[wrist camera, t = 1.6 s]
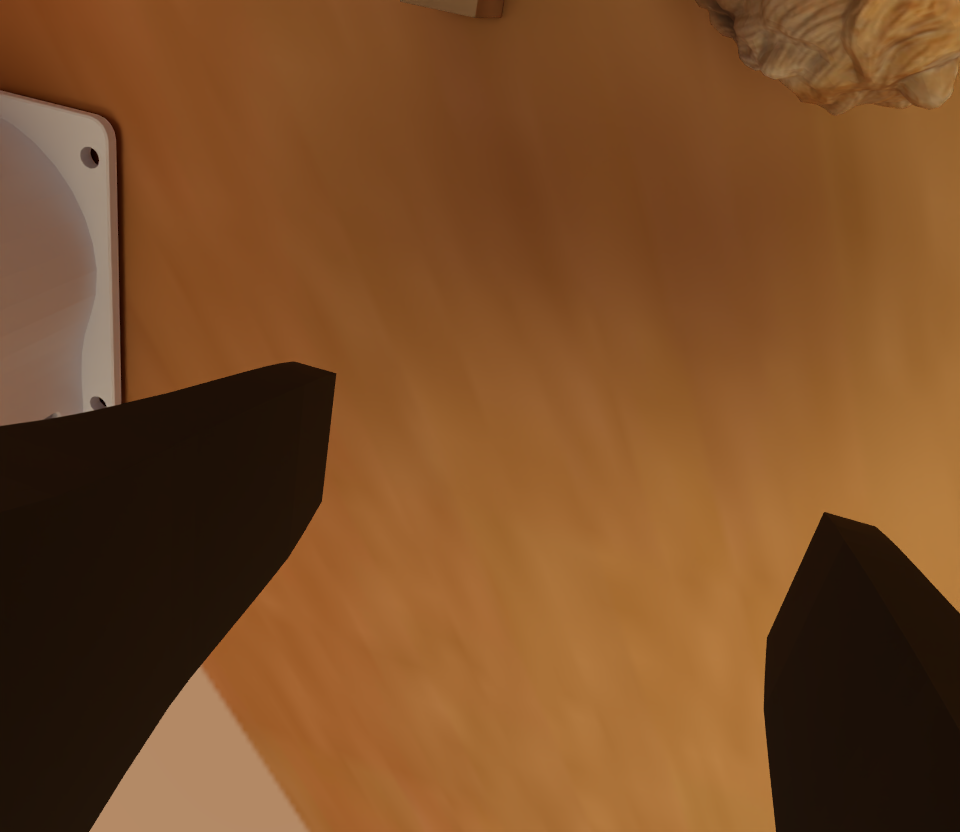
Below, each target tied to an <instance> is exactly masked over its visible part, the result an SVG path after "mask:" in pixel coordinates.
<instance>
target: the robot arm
mask: <svg viewBox="0 0 960 832" xmlns="http://www.w3.org/2000/svg"><path fill="white" fill-rule="evenodd" d="M91 148H93V149H94V150H95V151H96V152H97V154H98V157H99V164H98V165H97V164H96V163H95V162H94V161H93V159H92V157H91V153H90V152H91ZM335 380H336V373H333V372H329V371H326V370H322V369H319V368H315V367H312V366H308V365H304V364H301V363H297V362H287V363H280V364H275V365H271V366H266V367H262V368H258V369H254V370H250V371H247V372H243V373H239V374H236V375H232V376H228V377H225V378H221V379H217V380H214V381H210V382H207V383H203V384H199V385H196V386H192V387H188V388H185V389H181V390H177V391H174V392H170V393H166V394H162V395H158V396H153V397H149V398H145V399H141V400H136V401H132V402H128V403H123V404H121V360H120V310H119V260H118V210H117V160H116V137H115V131H114V130H113V128H112V126H111V124H110V123H109V122H108V121H107V120H106V119H105V118H104V117H102V116H100V115H98V114H94V113H90V112H86V111H82V110H78V109H74V108H70V107H66V106H62V105H58V104H54V103H50V102H45V101H41V100H37V99H33V98H29V97H25V96H21V95H17V94H13V93H9V92H5V91H1V90H0V832H89V831H90V829H91V828H92V826H93V825H94V823H95V821H96V820H97V818H98V817H99V815H100V813H101V812H102V810H103V808H104V807H105V805H106V804H107V802H108V800H109V799H110V797H111V796H112V794H113V792H114V791H115V789H116V788H117V786H118V784H119V782H120V781H121V779H122V778H123V776H124V775H125V773H126V771H127V770H128V768H129V767H130V765H131V764H132V762H133V761H134V759H135V758H136V756H137V755H138V753H139V752H140V750H141V749H142V747H143V746H144V744H145V742H146V741H147V739H148V738H149V736H150V735H151V733H152V732H153V730H154V729H155V727H156V726H157V724H158V723H159V721H160V719H161V718H162V716H163V715H164V713H165V712H166V710H167V709H168V707H169V706H170V705H171V703H172V702H173V700H174V699H175V698H176V697H177V695H178V694H179V692H180V691H181V690H182V688H183V687H184V686H185V684H186V683H187V682H188V680H189V679H190V678H191V677H192V675H193V674H194V673H195V672H196V670H197V669H198V668H199V667H200V666H201V664H202V663H203V662H204V661H205V660H206V658H207V657H208V656H209V655H210V653H211V652H212V651H213V650H214V649H215V647H216V646H217V645H218V644H219V642H220V641H221V640H222V639H223V638H224V636H225V635H226V634H227V633H228V631H229V630H230V629H231V628H232V627H233V625H234V624H235V623H236V622H237V621H238V619H239V618H240V617H241V616H242V614H243V613H244V612H245V611H246V610H247V608H248V607H249V606H250V605H251V603H252V602H253V601H254V600H255V599H256V597H257V596H258V595H259V594H260V592H261V591H262V590H263V589H264V587H265V586H266V585H267V584H268V582H269V581H270V580H271V579H272V577H273V576H274V575H275V574H276V573H277V571H278V570H279V569H280V567H281V566H282V565H283V564H284V562H285V561H286V560H287V559H288V557H289V556H290V554H291V552H292V551H293V549H294V548H295V546H296V544H297V543H298V541H299V539H300V538H301V536H302V535H303V533H304V531H305V530H306V528H307V526H308V524H309V523H310V521H311V519H312V517H313V516H314V514H315V512H316V510H317V509H318V507H319V505H320V503H321V502H322V495H323V486H324V477H325V468H326V459H327V450H328V442H329V433H330V424H331V415H332V406H333V397H334V389H335ZM99 397H100V398H101V399H103V401H104V402H105V403H106V406H104V405H103V404H102V403H101V402H100V399H99ZM764 717H765V728H766V738H767V749H768V759H769V769H770V778H771V788H772V797H773V807H774V816H775V825H776V832H960V613H959V612H958V611H957V610H956V609H955V608H954V607H953V606H952V605H951V604H950V603H949V602H948V601H947V599H946V598H945V597H944V596H943V595H942V594H941V593H940V592H939V591H938V590H937V589H936V588H935V587H934V585H933V584H932V583H931V582H930V581H929V580H928V579H927V578H926V577H925V576H924V575H923V574H922V572H921V571H920V570H919V569H918V568H917V567H916V566H915V565H914V564H913V563H912V562H911V561H910V560H909V559H908V558H907V556H906V555H905V554H904V553H903V552H902V551H901V550H900V549H899V548H898V547H897V546H896V545H895V544H894V543H893V542H892V541H891V540H890V539H889V538H888V537H887V536H886V535H885V534H883V533H882V532H881V531H880V530H879V529H878V528H876V527H875V526H872V525H868V524H864V523H861V522H857V521H854V520H850V519H847V518H843V517H840V516H836V515H833V514H829V513H826V512H824V513H823V516H822V518H821V520H820V522H819V524H818V527H817V529H816V531H815V533H814V535H813V538H812V540H811V542H810V544H809V547H808V549H807V551H806V553H805V555H804V558H803V560H802V562H801V564H800V566H799V569H798V571H797V573H796V575H795V577H794V580H793V582H792V584H791V586H790V588H789V591H788V593H787V595H786V597H785V599H784V602H783V604H782V606H781V608H780V610H779V613H778V615H777V617H776V619H775V621H774V624H773V626H772V628H771V630H770V632H769V635H768V637H767V647H766V664H765V686H764Z"/></svg>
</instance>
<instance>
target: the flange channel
mask: <svg viewBox="0 0 960 832" xmlns="http://www.w3.org/2000/svg"><path fill="white" fill-rule="evenodd" d="M400 2H405V3H409V4H414V5H418V6H423V7H428V8H432V9H437V10H441V11H446V12H451V13H455V14H460V15H464V16H469V17H474V18H489V17H501V15H502V9H503V3H504V0H400Z"/></svg>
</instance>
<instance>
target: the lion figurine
mask: <svg viewBox="0 0 960 832" xmlns="http://www.w3.org/2000/svg"><path fill="white" fill-rule="evenodd" d="M695 1H696V2H697V4H698V5H699V7H701V8H705V9H708V11H709V17H710V22H711V24H712V25H713V26H714V27H715V28H716V29H717V30H718V31H719V32H720V33H721V34H722V35H723V36H726V37H731V38H733V39H734V40H735V41H736V42H737V45H738V48H739V50H738V53H739V58H740V59H741V60H742V62H743V63H744V64H745V65H746V66H748V67H750V68H751V69H753V70H761V71H762V73H763V74H764V75H765V76H767V77H770V78H772V79H779V81H780V82H782V83H783V84H784V85H785V86H787V87H788V88H789V89H790V90H791V91H793V92H794V93H795V94H796V95H797V96H798V98H799V100H800V101H801V102H805V103H812V104H817V105H819V106H821V107H823V108H825V109H826V110H827V111H828V112H829V113H831V114H832V115H836V116H837V115H840V114H842V113H845V112H846V111H848V110H850V109H851V108H853V107H855V106H858V105H861V104H872V103H873V104H876V105H879V106H884V107H892V108H900V109H903V108H907V107H909V106H910V105H912V104H913V105H915V106H918V107H922V108H925V109H933V108H937V107H940V106H941V105H942V104H943V103H944V102H945V101H946V100H947V99H949V98H950V97H951V95H952V92H953V90H954V81H955V78H956V76H957V73H958V69H959V64H960V0H695Z"/></svg>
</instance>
